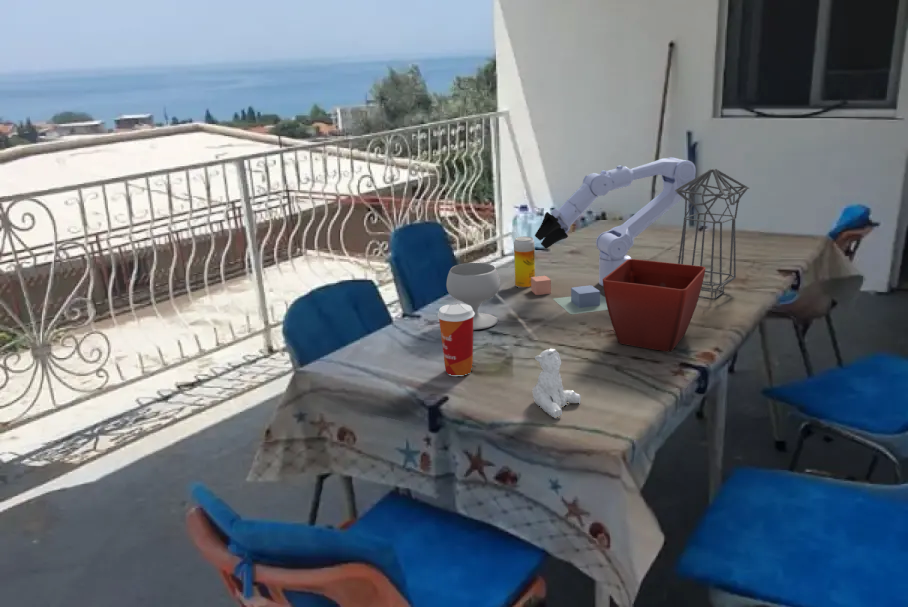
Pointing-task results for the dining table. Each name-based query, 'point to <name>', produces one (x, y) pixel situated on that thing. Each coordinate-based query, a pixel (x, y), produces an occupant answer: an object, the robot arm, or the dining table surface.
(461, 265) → the chalice
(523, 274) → the beer can
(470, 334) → the coffee cup
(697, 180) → the geometric lantern
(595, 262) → the dining table surface
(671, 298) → the plant pot
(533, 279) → the top brick
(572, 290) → the base brick
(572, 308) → the plate
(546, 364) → the seated beast figurine
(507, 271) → the dining table surface
